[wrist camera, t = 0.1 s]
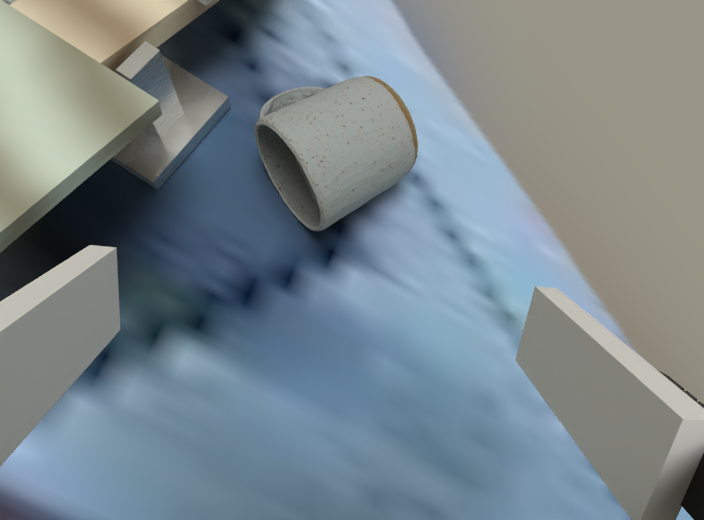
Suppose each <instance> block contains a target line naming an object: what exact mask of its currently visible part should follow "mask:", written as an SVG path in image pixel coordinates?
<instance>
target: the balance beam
mask: <svg viewBox="0 0 704 520" xmlns="http://www.w3.org/2000/svg"><path fill="white" fill-rule="evenodd" d="M218 1H219V0H17V1H15V2H14V3H12V4H10V5H8V4H7V3H5V2H4V1H2V0H0V253H1V252H2V251H3V250H4V249H5V248H6V247H8V246H9V245H10V244H11V243H12V242H13V241H15V240H16V239H17V238H18V237H19V236H20V235H22V234H23V233H24V232H25V231H26V230H28V229H29V228H30V227H31V226H32V225H33V224H35V223H36V222H37V221H38V220H39V219H40V218H42V217H43V216H44V215H45V214H46V213H47V212H49V211H50V210H51V209H52V208H53V207H54V206H56V205H57V204H58V203H59V202H60V201H62V200H63V199H64V198H65V197H66V196H67V195H69V194H70V193H71V192H72V191H73V190H74V189H76V188H77V187H78V186H79V185H80V184H81V183H83V182H84V181H85V180H86V179H87V178H88V177H90V176H91V175H92V174H93V173H94V172H96V171H97V170H98V169H99V168H100V167H101V166H103V165H104V164H105V163H106V162H107V161H108V160H110V159H111V158H112V157H113V156H114V155H115V154H117V153H118V152H119V151H120V150H121V149H122V148H124V147H125V146H126V145H127V144H128V143H130V142H131V141H132V140H133V139H134V138H135V137H137V136H138V135H139V134H140V133H141V132H142V131H144V130H145V129H146V128H147V127H148V126H149V125H151V124H152V123H153V122H154V121H155V120H156V119H158V118H159V117H160V116H161V115H162V111H161V107H160V102H159V100H157V99H156V98H154V97H153V96H151V95H149V94H148V93H146V92H145V91H143V90H142V89H140V88H138V87H137V86H135V85H134V84H132V83H131V82H129V81H127V80H126V79H124V78H123V77H121V76H120V75H118V73H117V71H116V69H117V68H118V67H119V66H120V65H121V64H122V63H123V62H124V61H125V60H126V59H127V58H128V57H129V56H130V55H131V54H132V53H133V52H134V51H135V50H136V49H137V48H138V47H139V46H141V45H142V44H143V43H144V42H145V41H146V42H148V43H149V44H151V45H152V46H154V47H156V48H157V47H158V46H159V45H161V44H162V43H163V42H165V41H166V40H167V39H169V38H170V37H171V36H173V35H174V34H175V33H177V32H178V31H179V30H181V29H182V28H183V27H185V26H186V25H187V24H189V23H190V22H191V21H193V20H194V19H195V18H197V17H198V16H199V15H201V14H202V13H203V12H205V11H206V10H207V9H209V8H210V7H211V6H213V5H214V4H215V3H217V2H218Z"/></svg>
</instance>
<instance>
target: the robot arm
mask: <svg viewBox="0 0 704 520" xmlns="http://www.w3.org/2000/svg"><path fill="white" fill-rule="evenodd" d="M119 330H120V314H119V292H118V270H117V248H116V247H105V246H94V245H89V246H88V247H86V248H84V249H83V250H81V251H80V252H78V253H76V254H75V255H73V256H72V257H70V258H69V259H67V260H65V261H64V262H62V263H61V264H59V265H57V266H56V267H54V268H53V269H51V270H50V271H48V272H46V273H45V274H43V275H42V276H40V277H38V278H37V279H35V280H34V281H32V282H31V283H29V284H27V285H26V286H24V287H23V288H21V289H20V290H18V291H16V292H15V293H13V294H12V295H10V296H8V297H7V298H5V299H4V300H2V301H1V302H0V466H1V465H2V464H3V463H4V462H5V461H6V459H7V458H8V457H9V456H10V455H11V454H12V453H13V451H14V450H15V449H16V448H17V447H18V446H19V445H20V443H21V442H22V441H23V440H24V439H25V438H26V437H27V436H28V434H29V433H30V432H31V431H32V430H33V429H34V428H35V426H36V425H37V424H38V423H39V422H40V421H41V420H42V418H43V417H44V416H45V415H46V414H47V413H48V412H49V410H50V409H51V408H52V407H53V406H54V405H55V404H56V402H57V401H58V400H59V399H60V398H61V397H62V396H63V394H64V393H65V392H66V391H67V390H68V389H69V388H70V386H71V385H72V384H73V383H74V382H75V381H76V380H77V378H78V377H79V376H80V375H81V374H82V373H83V372H84V370H85V369H86V368H87V367H88V366H89V365H90V364H91V362H92V361H93V360H94V359H95V358H96V357H97V356H98V354H99V353H100V352H101V351H102V350H103V349H104V348H105V346H106V345H107V344H108V343H109V342H110V341H111V340H112V338H113V337H114V336H115V335H116V334H117V333H118V332H119ZM516 362H517V363H518V364H519V366H520V367H521V368H522V370H523V371H524V373H525V374H526V375H527V377H528V378H529V379H530V381H531V382H532V384H533V385H534V386H535V388H536V389H537V390H538V392H539V393H540V395H541V396H542V397H543V399H544V400H545V401H546V403H547V404H548V406H549V407H550V408H551V410H552V411H553V412H554V414H555V415H556V416H557V418H558V419H559V421H560V422H561V423H562V425H563V426H564V427H565V429H566V430H567V432H568V433H569V434H570V436H571V437H572V438H573V440H574V441H575V443H576V444H577V445H578V447H579V448H580V449H581V451H582V452H583V454H584V455H585V456H586V458H587V459H588V460H589V462H590V463H591V465H592V466H593V467H594V469H595V470H596V471H597V473H598V474H599V476H600V477H601V478H602V480H603V481H604V482H605V484H606V485H607V487H608V488H609V489H610V491H611V492H612V493H613V495H614V496H615V498H616V499H617V500H618V502H619V503H620V504H621V506H622V507H623V509H624V510H625V511H626V513H627V514H628V515H629V517H630V518H631V520H676V518H677V516H678V514H679V511H680V509H681V507H683V508H684V509H685V510H686V511H687V512H688V513H689V515H690V516H691V517H692V518H693V519H694V520H704V404H702V403H701V402H697V399H696V398H695V397H694V396H693V395H691V394H690V393H689V392H688V391H684V388H682V387H681V386H680V385H679V384H678V383H676V382H675V381H674V380H673V379H671V378H670V377H669V376H667V375H666V374H664V373H662V372H660V371H658V370H657V369H655V368H654V367H652V366H651V365H650V364H649V363H648V362H647V361H645V360H644V359H643V358H642V357H640V356H639V355H638V354H637V353H636V352H634V351H633V350H632V349H631V348H629V347H628V346H627V345H626V344H625V343H623V342H622V341H621V340H620V339H618V338H617V337H616V336H615V335H614V334H612V333H611V332H610V331H609V330H608V329H606V328H605V327H604V326H603V325H601V324H600V323H599V322H598V321H597V320H595V319H594V318H593V317H592V316H590V315H589V314H588V313H587V312H586V311H584V310H583V309H582V308H581V307H579V306H578V305H577V304H576V303H575V302H573V301H572V300H571V299H570V298H568V297H567V296H566V295H565V294H564V293H562V292H561V291H560V290H559V289H558V288H547V287H536V286H535V289H534V292H533V296H532V300H531V304H530V307H529V311H528V315H527V319H526V322H525V326H524V330H523V334H522V337H521V341H520V345H519V349H518V353H517V356H516Z"/></svg>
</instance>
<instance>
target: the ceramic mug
mask: <svg viewBox="0 0 704 520" xmlns="http://www.w3.org/2000/svg"><path fill="white" fill-rule="evenodd" d="M255 138H256V143H257V146H258V150H259V153H260V156H261V158H262V161H263V163H264V166H265V168H266V170H267V172H268V174H269V176H270V178H271V180H272V182H273V184H274V186H275V187H276V189H277V190H278V192H279V194H280V195H281V197H282V199H283V201H284V202H285V203H286V205H287V206H288V207H289V209H290V210H291V211H292V213H293V214H294V215H295V216H296V217H297V219H298V220H299V221H300V222H302V223H303V224H304V225H305V226H306V227H308V228H309V229H311V230H313V231H322V230H324V229H326V228H327V227H329V226H330V225H332V224H333V223H335V222H336V221H338V220H339V219H341V218H343V217H344V216H346V215H347V214H349V213H351V212H352V211H354V210H356V209H357V208H359V207H360V206H362V205H363V204H365V203H366V202H368V201H369V200H371V199H372V198H374V197H375V196H377V195H378V194H380V193H382V192H384V191H385V190H387V189H389V188H390V187H392V186H393V185H395V184H396V183H397V182H398V181H400V180H401V179H402V178H403V177H404V176H405V175H406V174H407V173H408V172H409V171H410V170H411V169H412V167H413V166H414V164H415V161H416V158H417V149H418V142H417V135H416V130H415V126H414V123H413V120H412V118H411V115H410V113H409V111H408V109H407V107H406V106H405V104H404V102H403V101H402V99H401V98H400V96H399V95H398V94H397V93H396V92H395V91H394V90H393V89H392V88H391V87H390V86H389V85H388V84H386V83H385V82H383V81H382V80H380V79H377V78H374V77H368V76H364V77H357V78H353V79H349V80H346V81H343V82H341V83H338V84H336V85H333V86H331V87H329V88H327V89H324V88H321V87H300V88H295V89H291V90H288V91H285V92H283V93H280V94H278V95H276V96H274V97H273V98H271V99H270V100H269V101H267V102H266V103H265V104H264V105H263V107H262V109H261V111H260V116H259V120H258V121H257V122H256V124H255Z"/></svg>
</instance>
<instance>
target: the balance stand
mask: <svg viewBox="0 0 704 520" xmlns="http://www.w3.org/2000/svg"><path fill="white" fill-rule="evenodd" d="M15 1H17V0H4V2H5V3H7V4H8V5H10V4H12V3H14V2H15ZM116 71H117V73H118V75H120V76H121V77H123V78H124V79H126V80H127V81H129V82H131V83H132V84H134V85H135V86H137V87H138V88H140V89H142V90H143V91H145V92H146V93H148V94H149V95H151V96H153V97H154V98H156V99H157V100H159V102H160V107H161V111H162V115H161V116H160V117H159V118H158V119H156V120H155V121H154V122H153V123H152V124H151V125H149V126H148V127H147V128H146V129H145V130H144V131H142V132H141V133H140V134H139V135H138V136H137V137H135V138H134V139H133V140H132V141H131V142H130V143H128V144H127V145H126V146H125V147H124V148H122V149H121V150H120V151H119V152H118V153H117V154H115V155H114V156H113V157H112V158H111V159H110V160H112V161H113V162H115V163H116V164H118V165H119V166H121V167H122V168H124V169H126V170H127V171H129V172H130V173H132V174H133V175H135V176H136V177H138V178H139V179H141V180H142V181H144V182H146V183H147V184H149V185H150V186H152V187H153V188H155V189H156V190H159V188H160V187H161V186H162V185H163V184H164V183H165V182H166V180H167V179H168V178H169V177H170V176H171V175H172V174H173V172H174V171H175V170H176V169H177V168H178V167H179V166H180V164H181V163H182V162H183V161H184V160H185V159H186V158H187V156H188V155H189V154H190V153H191V152H192V151H193V150H194V148H195V147H196V146H197V145H198V144H199V143H200V142H201V140H202V139H203V138H204V137H205V136H206V135H207V134H208V132H209V131H210V130H211V129H212V128H213V127H214V126H215V124H216V123H217V122H218V121H219V120H220V119H221V118H222V116H223V115H224V114H225V113H226V112H227V111H228V110H229V109H230V102H229V97H228V96H226V95H224V94H223V93H221V92H220V91H218V90H217V89H215V88H213V87H212V86H210V85H209V84H207V83H205V82H204V81H202V80H201V79H199V78H197V77H196V76H194V75H193V74H191V73H190V72H188V71H186V70H185V69H183V68H182V67H180V66H178V65H177V64H175V63H174V62H172V61H171V60H169V59H167V58H166V57H164V56H163V55H161V52H160V50H159V49H157V48H156V47H154V46H152V45H151V44H149V43H148V42H146V41H145V42H144V43H143V44H142V45H141V46H139V47H138V48H137V49H136V50H135V51H134V52H133V53H132V54H131V55H130V56H129V57H128V58H127V59H126V60H125V61H124V62H123V63H122V64H121V65H120V66H119V67H118V68H117V69H116Z"/></svg>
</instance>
